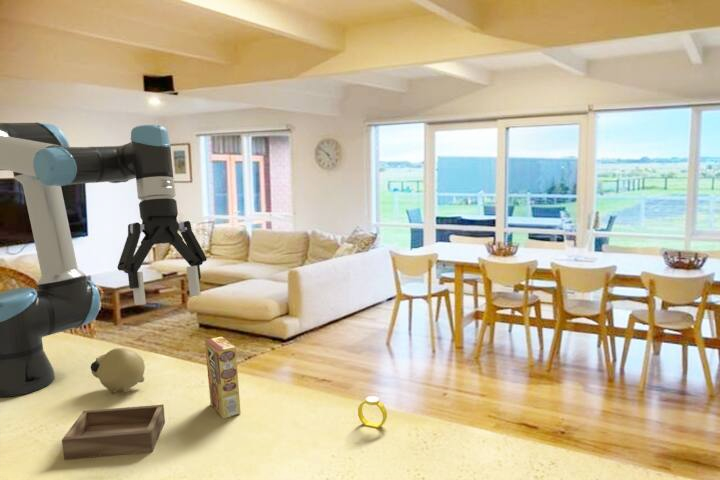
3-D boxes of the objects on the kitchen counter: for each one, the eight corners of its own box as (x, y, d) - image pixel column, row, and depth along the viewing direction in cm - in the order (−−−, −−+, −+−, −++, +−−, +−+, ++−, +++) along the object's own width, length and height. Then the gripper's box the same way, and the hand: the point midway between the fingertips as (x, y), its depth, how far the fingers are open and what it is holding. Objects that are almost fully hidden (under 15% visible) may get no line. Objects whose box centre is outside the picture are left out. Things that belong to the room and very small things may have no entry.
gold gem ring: (387, 426, 119) (389, 399, 118) (382, 432, 117) (383, 405, 116) (361, 419, 122) (362, 392, 121) (355, 425, 119) (356, 398, 118)
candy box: (241, 414, 126) (237, 346, 123) (222, 419, 123) (217, 350, 121) (226, 399, 133) (222, 335, 130) (208, 404, 131) (203, 339, 128)
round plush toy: (115, 379, 146) (111, 338, 144) (154, 384, 142) (151, 343, 140) (85, 395, 137) (80, 352, 135) (126, 401, 133) (122, 357, 131)
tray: (85, 428, 121) (83, 410, 120) (164, 422, 123) (163, 404, 122) (64, 459, 109) (61, 439, 108) (152, 451, 111) (150, 432, 110)
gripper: (112, 196, 110) (125, 307, 110) (215, 197, 130) (226, 291, 130) (91, 202, 114) (103, 309, 114) (193, 202, 135) (204, 293, 134)
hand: (169, 300), depth 122 cm, fingers open, 13 cm apart
